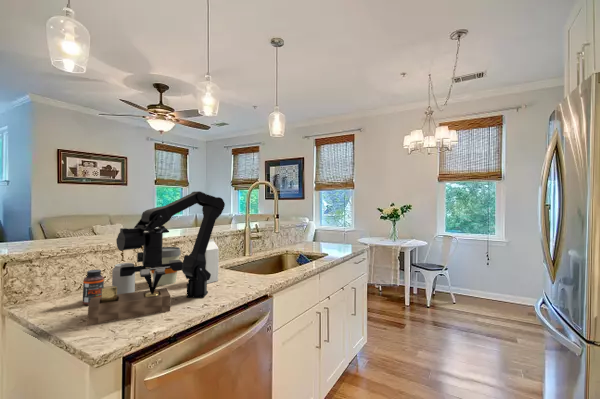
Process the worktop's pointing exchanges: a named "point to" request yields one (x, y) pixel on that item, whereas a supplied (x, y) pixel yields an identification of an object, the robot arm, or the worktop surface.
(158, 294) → the peg
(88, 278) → the supplement bottle
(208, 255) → the milk carton
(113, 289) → the peg
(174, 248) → the reusable coffee cup
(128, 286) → the can
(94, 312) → the walnut block
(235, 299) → the worktop surface
